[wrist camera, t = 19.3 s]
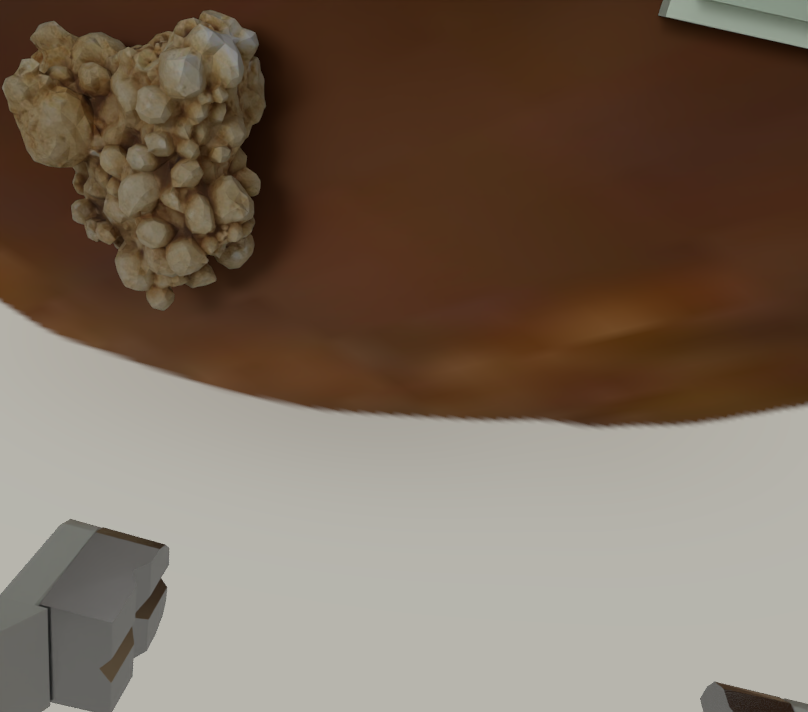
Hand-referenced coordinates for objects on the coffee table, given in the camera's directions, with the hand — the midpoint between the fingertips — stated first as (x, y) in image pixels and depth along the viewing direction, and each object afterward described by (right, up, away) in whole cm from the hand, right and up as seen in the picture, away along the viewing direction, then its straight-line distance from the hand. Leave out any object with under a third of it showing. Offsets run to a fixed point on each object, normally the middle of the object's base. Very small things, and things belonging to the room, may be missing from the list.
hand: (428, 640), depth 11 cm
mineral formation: (-13, +16, +32) cm, 38 cm away
